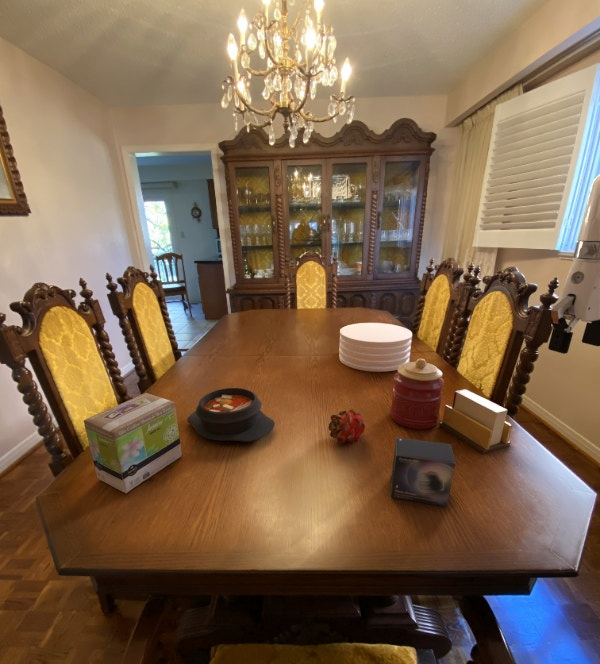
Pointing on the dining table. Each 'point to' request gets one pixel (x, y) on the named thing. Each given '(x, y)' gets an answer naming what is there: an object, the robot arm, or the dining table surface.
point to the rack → (473, 431)
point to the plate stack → (375, 346)
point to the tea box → (133, 440)
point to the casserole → (231, 416)
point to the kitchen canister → (417, 395)
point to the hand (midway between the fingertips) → (574, 347)
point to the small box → (422, 471)
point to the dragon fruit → (346, 426)
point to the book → (481, 412)
